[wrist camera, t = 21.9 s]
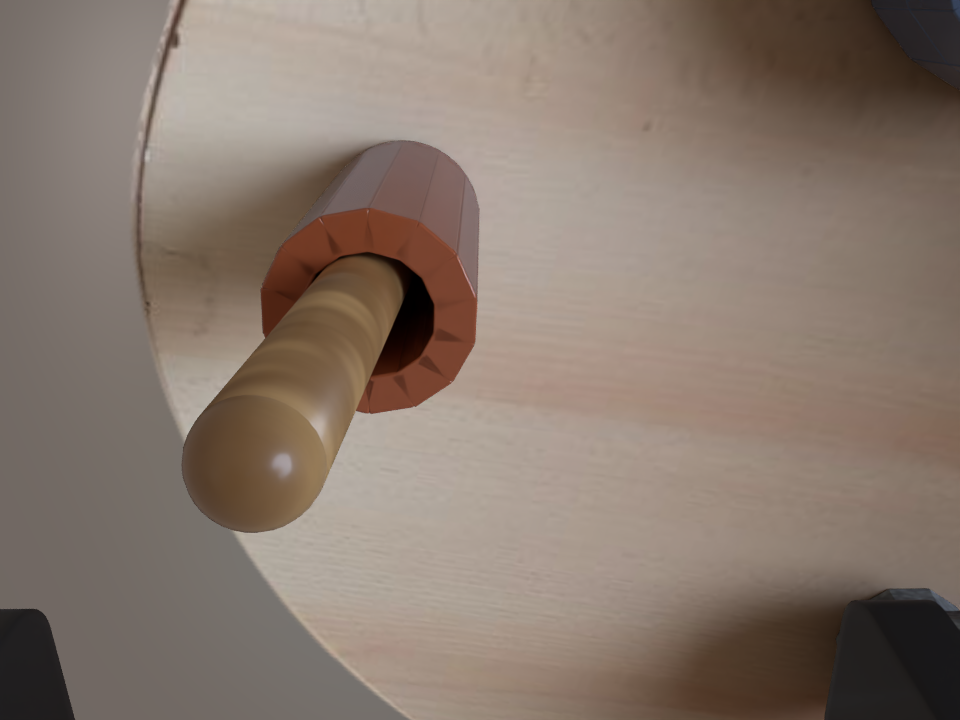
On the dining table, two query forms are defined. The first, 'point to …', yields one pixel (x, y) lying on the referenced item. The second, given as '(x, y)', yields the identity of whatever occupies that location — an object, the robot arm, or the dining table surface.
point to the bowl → (926, 33)
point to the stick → (294, 398)
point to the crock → (403, 236)
